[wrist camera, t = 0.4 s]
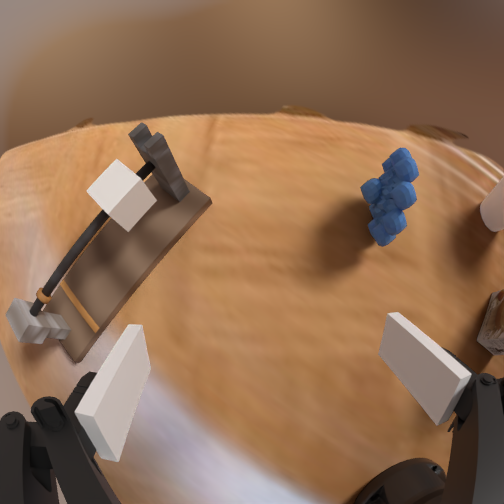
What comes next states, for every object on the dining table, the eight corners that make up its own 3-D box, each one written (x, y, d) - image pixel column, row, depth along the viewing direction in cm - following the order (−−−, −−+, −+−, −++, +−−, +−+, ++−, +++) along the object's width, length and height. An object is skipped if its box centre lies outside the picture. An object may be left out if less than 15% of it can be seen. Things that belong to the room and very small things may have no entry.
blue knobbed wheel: (351, 174, 38) (376, 121, 27) (392, 187, 37) (426, 139, 26) (341, 246, 35) (374, 205, 23) (387, 258, 34) (433, 225, 23)
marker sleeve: (133, 180, 32) (116, 158, 27) (157, 200, 31) (141, 178, 26) (106, 209, 31) (86, 191, 26) (128, 232, 30) (107, 214, 25)
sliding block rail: (166, 169, 40) (134, 109, 27) (212, 203, 37) (189, 140, 25) (47, 313, 33) (-15, 298, 21) (80, 361, 31) (14, 363, 18)
